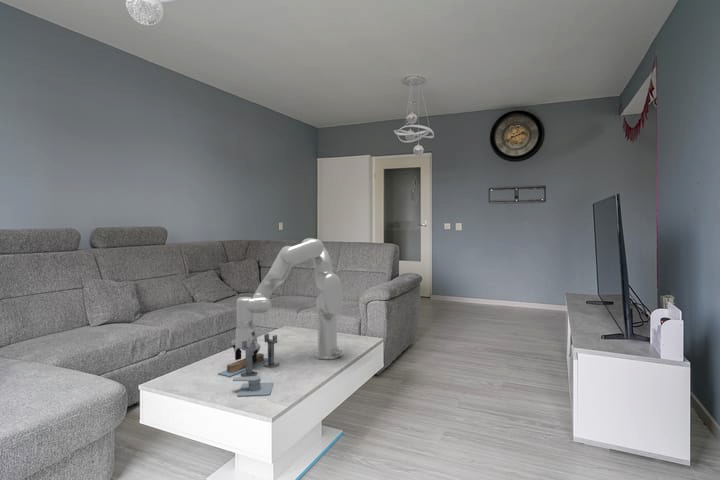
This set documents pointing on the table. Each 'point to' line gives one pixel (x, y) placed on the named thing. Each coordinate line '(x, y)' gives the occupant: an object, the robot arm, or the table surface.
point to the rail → (242, 364)
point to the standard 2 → (270, 351)
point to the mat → (241, 369)
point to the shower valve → (253, 387)
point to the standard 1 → (248, 359)
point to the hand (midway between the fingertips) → (245, 361)
